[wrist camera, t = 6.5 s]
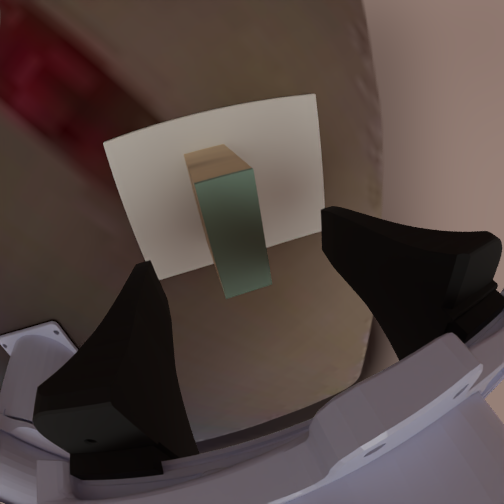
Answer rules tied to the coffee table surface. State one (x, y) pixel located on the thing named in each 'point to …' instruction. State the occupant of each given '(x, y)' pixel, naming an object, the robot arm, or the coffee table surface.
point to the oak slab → (230, 218)
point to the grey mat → (243, 145)
